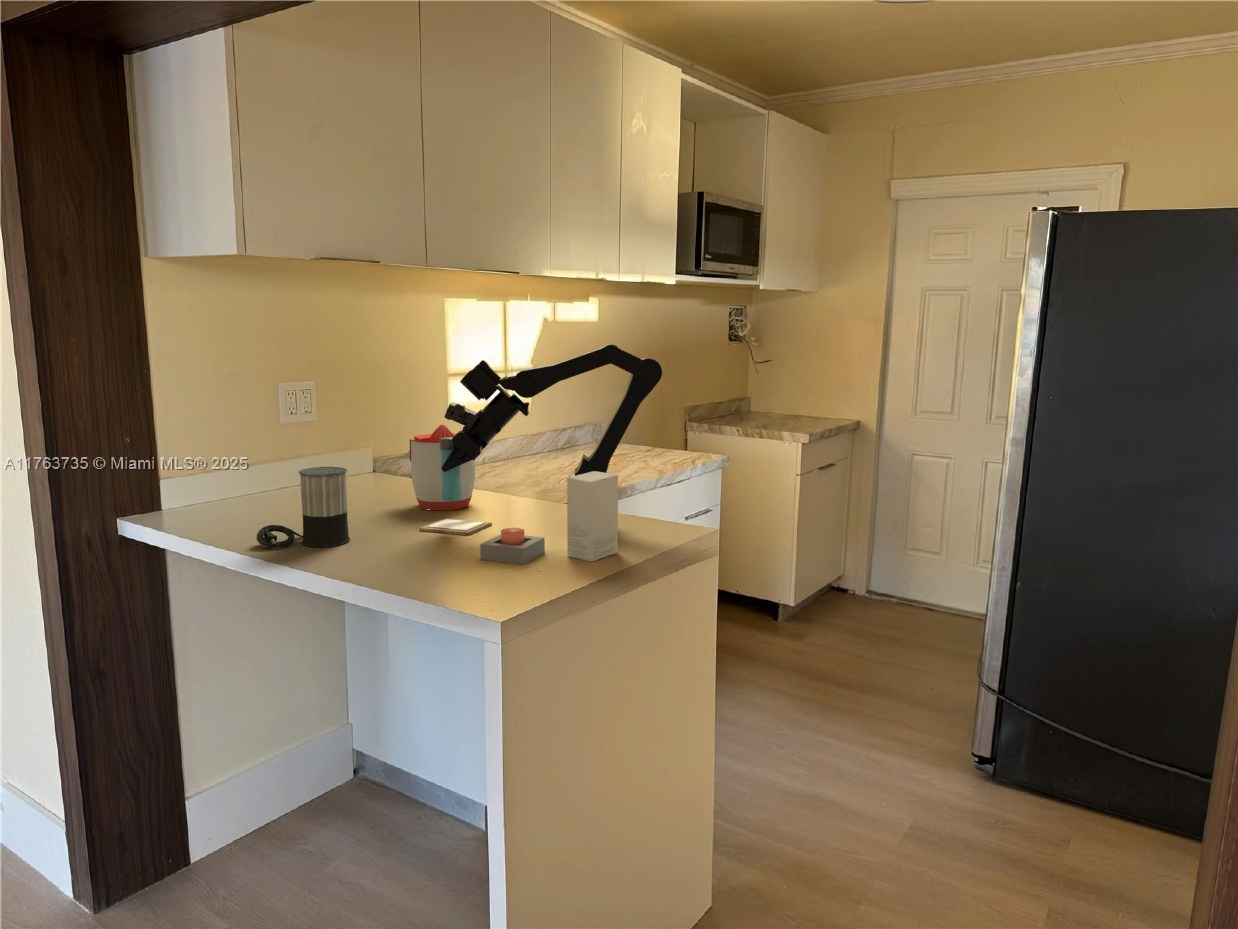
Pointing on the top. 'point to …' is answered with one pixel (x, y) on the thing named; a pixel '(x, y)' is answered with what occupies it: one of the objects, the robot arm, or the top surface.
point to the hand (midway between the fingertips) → (444, 468)
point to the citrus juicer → (436, 472)
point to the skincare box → (592, 515)
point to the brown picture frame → (455, 526)
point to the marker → (449, 473)
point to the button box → (512, 550)
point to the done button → (512, 536)
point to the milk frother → (317, 510)
